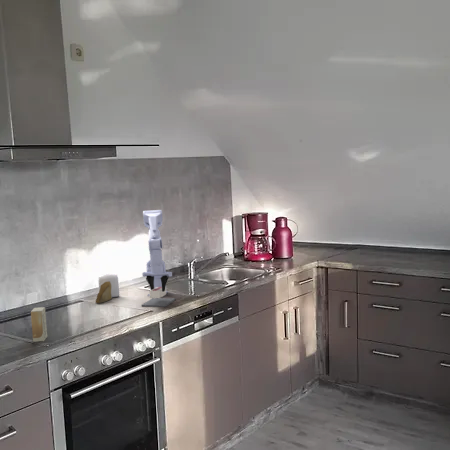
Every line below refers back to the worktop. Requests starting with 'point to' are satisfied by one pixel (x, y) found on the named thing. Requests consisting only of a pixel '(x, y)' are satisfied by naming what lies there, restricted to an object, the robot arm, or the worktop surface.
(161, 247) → the robot arm
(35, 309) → the skincare box
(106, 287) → the rock
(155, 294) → the card deck
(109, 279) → the photo printer
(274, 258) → the worktop surface
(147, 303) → the mat
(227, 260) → the worktop surface
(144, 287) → the worktop surface
